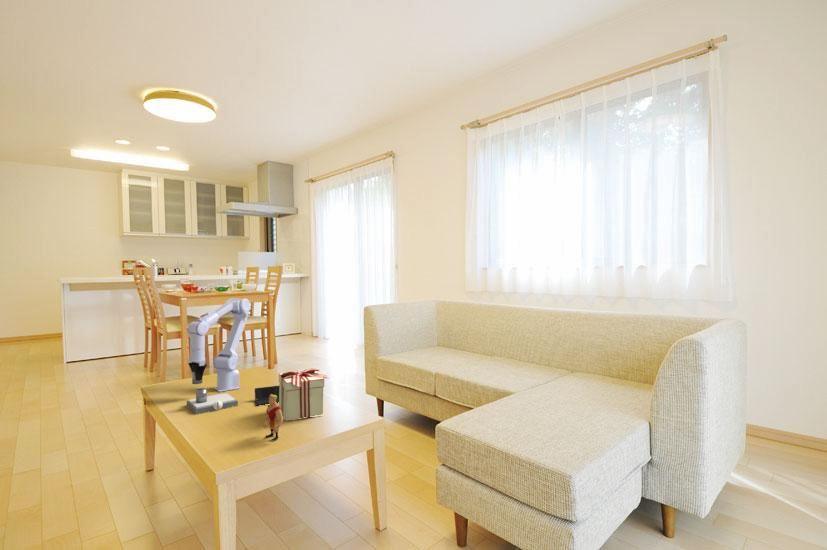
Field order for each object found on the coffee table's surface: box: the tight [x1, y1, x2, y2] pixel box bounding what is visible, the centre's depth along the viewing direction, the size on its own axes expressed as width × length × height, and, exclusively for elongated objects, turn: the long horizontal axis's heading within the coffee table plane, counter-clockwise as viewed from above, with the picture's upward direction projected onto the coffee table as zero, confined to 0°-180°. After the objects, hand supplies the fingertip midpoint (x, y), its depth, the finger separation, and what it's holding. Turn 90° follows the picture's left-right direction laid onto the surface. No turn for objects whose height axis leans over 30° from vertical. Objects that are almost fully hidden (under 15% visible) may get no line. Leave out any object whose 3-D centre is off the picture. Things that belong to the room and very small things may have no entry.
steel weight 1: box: [191, 371, 203, 385], centre depth 179 cm, size 4×4×5 cm
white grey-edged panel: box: [186, 392, 239, 415], centre depth 169 cm, size 16×15×4 cm
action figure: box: [262, 394, 284, 441], centre depth 136 cm, size 10×4×15 cm, turn 47°
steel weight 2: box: [195, 387, 208, 403], centre depth 167 cm, size 4×4×5 cm
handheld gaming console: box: [254, 385, 280, 407], centre depth 176 cm, size 12×7×10 cm
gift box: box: [278, 367, 329, 422], centre depth 160 cm, size 17×18×17 cm
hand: (197, 379), depth 179 cm, fingers closed on steel weight 1, 4 cm apart
